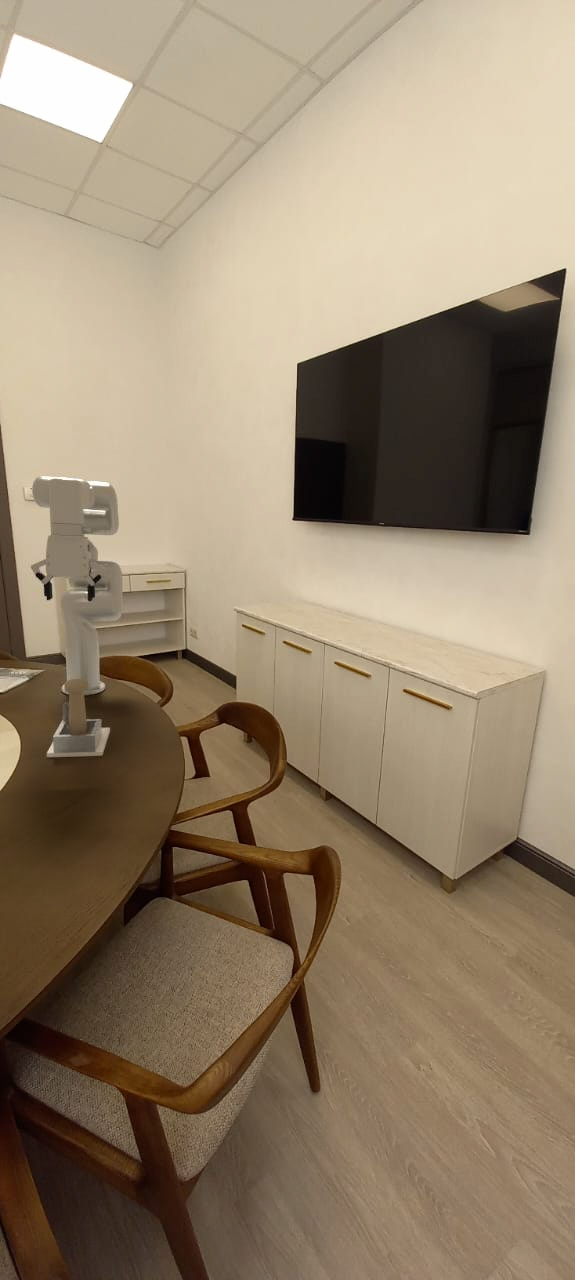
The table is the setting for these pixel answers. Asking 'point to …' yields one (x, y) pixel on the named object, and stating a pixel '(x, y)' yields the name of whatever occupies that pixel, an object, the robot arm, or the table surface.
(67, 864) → the table surface
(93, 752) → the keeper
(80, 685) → the handle
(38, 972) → the table surface
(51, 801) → the table surface
